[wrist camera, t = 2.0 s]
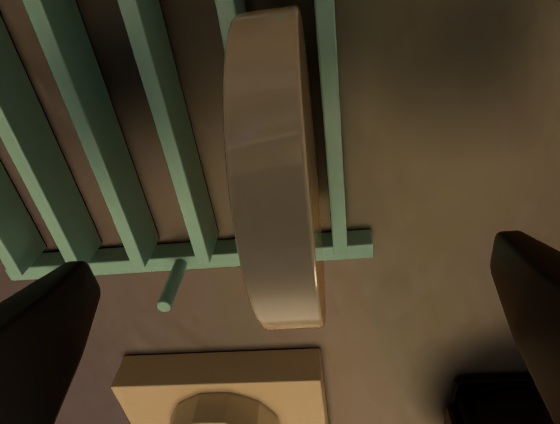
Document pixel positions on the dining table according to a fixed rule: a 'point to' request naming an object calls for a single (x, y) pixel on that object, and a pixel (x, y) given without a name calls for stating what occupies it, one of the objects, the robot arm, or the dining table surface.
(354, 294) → the dining table surface
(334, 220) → the rack
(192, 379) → the panel
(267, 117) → the plate
